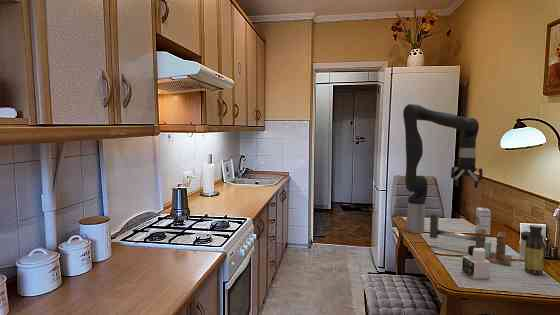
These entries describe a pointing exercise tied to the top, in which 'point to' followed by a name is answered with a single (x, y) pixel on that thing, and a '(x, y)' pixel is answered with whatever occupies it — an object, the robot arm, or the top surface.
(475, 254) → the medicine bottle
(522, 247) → the jar
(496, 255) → the bearing stand
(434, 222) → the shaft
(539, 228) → the sauce bottle
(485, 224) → the syrup box
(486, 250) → the spacer
